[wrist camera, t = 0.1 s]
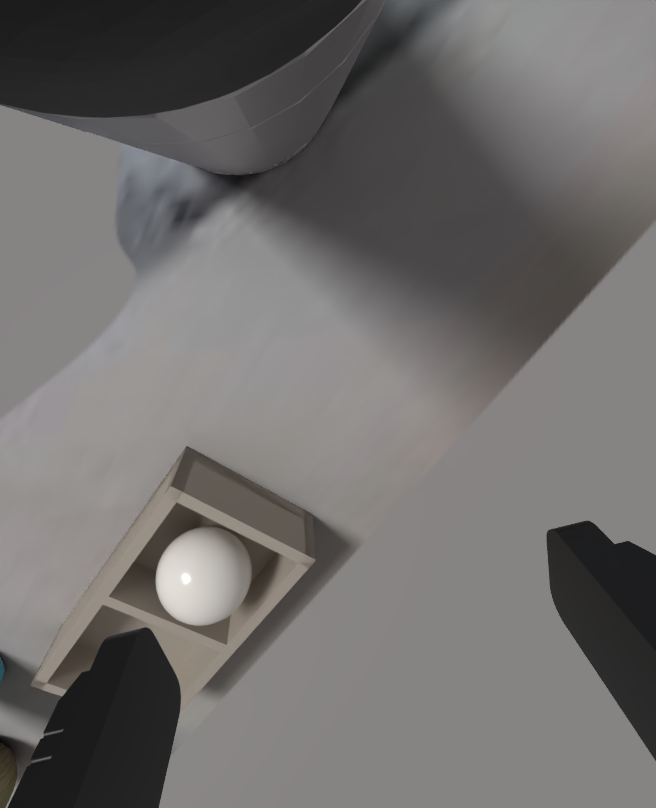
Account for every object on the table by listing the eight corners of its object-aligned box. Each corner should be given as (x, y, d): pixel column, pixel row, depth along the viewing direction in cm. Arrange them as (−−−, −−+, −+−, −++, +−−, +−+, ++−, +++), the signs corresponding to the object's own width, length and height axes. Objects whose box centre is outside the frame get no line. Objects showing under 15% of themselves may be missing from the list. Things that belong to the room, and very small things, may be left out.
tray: (186, 446, 27) (170, 486, 23) (312, 514, 29) (316, 560, 26) (59, 629, 32) (30, 686, 28) (177, 673, 34) (164, 730, 31)
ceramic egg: (154, 519, 27) (126, 587, 23) (239, 498, 27) (229, 562, 22) (186, 583, 30) (167, 657, 25) (265, 563, 29) (261, 634, 25)
